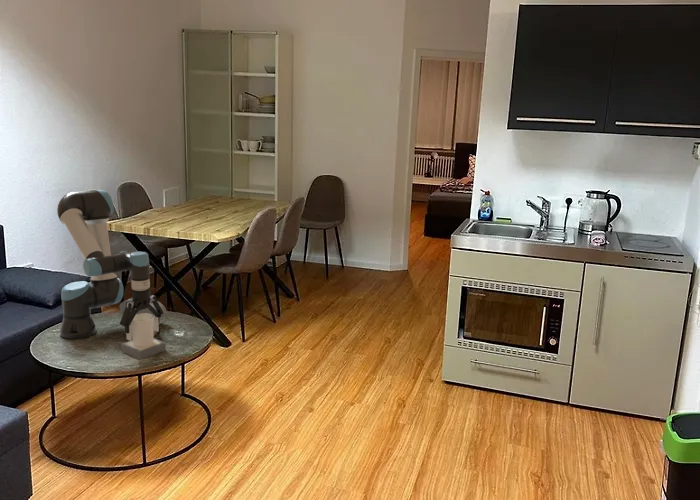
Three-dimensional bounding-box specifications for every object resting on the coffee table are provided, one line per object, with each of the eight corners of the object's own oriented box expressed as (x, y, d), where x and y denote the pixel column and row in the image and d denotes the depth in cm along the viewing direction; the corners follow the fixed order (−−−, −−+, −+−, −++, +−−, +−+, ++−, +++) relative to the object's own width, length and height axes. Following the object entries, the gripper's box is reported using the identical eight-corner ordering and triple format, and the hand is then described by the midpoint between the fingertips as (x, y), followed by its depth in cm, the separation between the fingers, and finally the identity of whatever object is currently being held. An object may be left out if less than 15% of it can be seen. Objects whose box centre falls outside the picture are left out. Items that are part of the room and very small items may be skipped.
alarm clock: (167, 323, 301) (166, 298, 298) (159, 327, 295) (158, 302, 292) (128, 316, 309) (127, 291, 306) (120, 320, 303) (118, 295, 300)
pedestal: (121, 351, 268) (121, 343, 267) (147, 342, 278) (146, 335, 277) (140, 359, 260) (139, 351, 260) (165, 350, 271) (165, 342, 270)
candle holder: (137, 337, 274) (136, 312, 271) (158, 339, 273) (157, 313, 270) (127, 346, 264) (125, 320, 261) (149, 348, 263) (148, 321, 260)
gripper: (120, 297, 250) (122, 346, 256) (170, 283, 270) (172, 329, 275) (109, 293, 255) (112, 341, 260) (159, 280, 274) (161, 325, 279)
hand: (143, 335), depth 267 cm, fingers open, 13 cm apart
